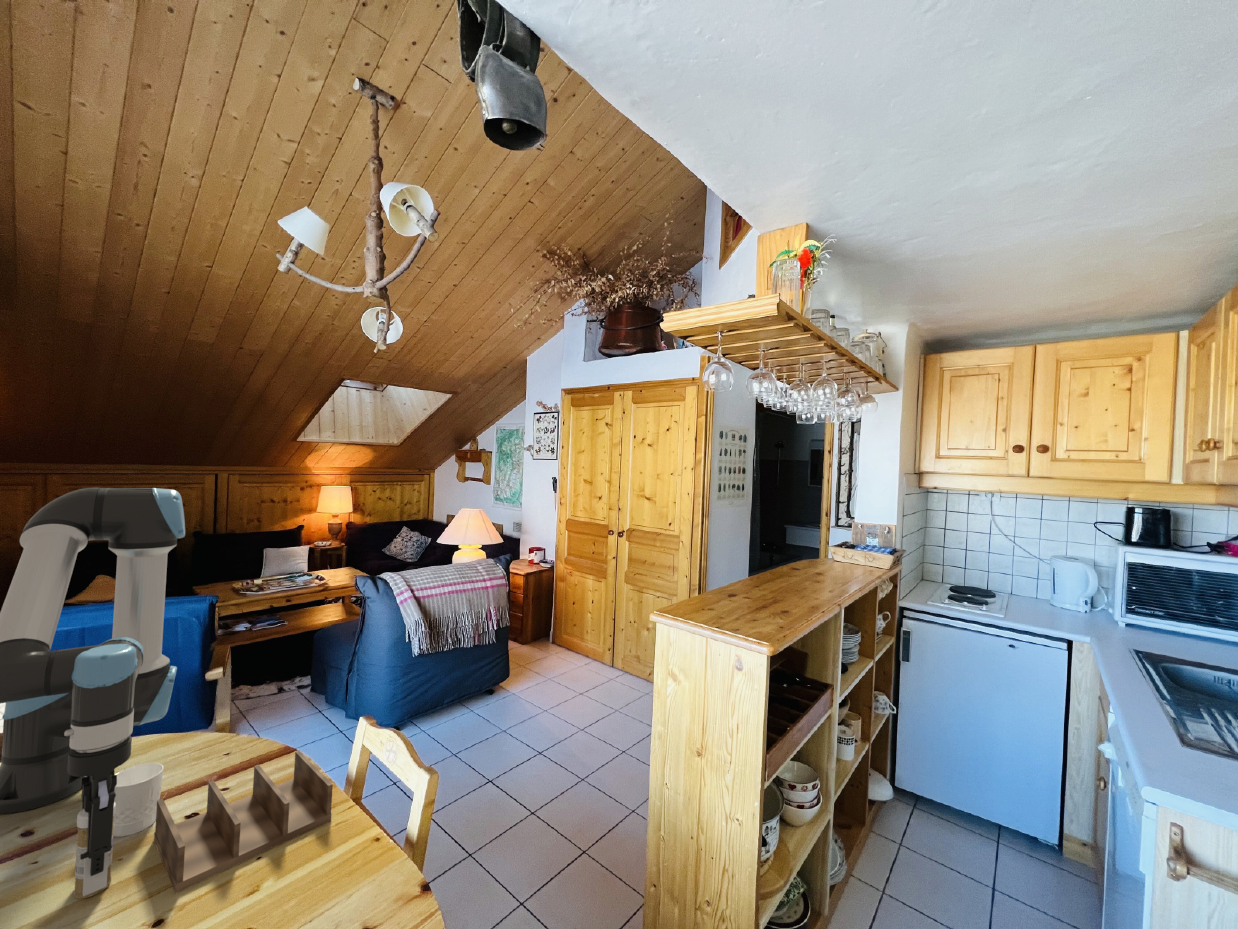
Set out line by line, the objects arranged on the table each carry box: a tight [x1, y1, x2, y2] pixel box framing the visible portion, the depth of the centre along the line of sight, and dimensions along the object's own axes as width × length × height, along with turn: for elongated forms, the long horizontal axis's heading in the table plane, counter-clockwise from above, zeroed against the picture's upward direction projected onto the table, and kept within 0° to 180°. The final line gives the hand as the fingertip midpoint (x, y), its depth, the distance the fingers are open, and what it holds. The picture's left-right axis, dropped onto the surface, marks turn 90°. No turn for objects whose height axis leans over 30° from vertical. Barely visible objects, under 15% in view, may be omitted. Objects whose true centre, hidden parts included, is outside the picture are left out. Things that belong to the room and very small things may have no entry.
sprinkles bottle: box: [72, 802, 116, 899], centre depth 86 cm, size 5×5×14 cm
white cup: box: [113, 762, 164, 837], centre depth 101 cm, size 8×8×10 cm
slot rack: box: [153, 750, 334, 895], centre depth 101 cm, size 18×24×8 cm
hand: (92, 881), depth 86 cm, fingers closed on sprinkles bottle, 4 cm apart
